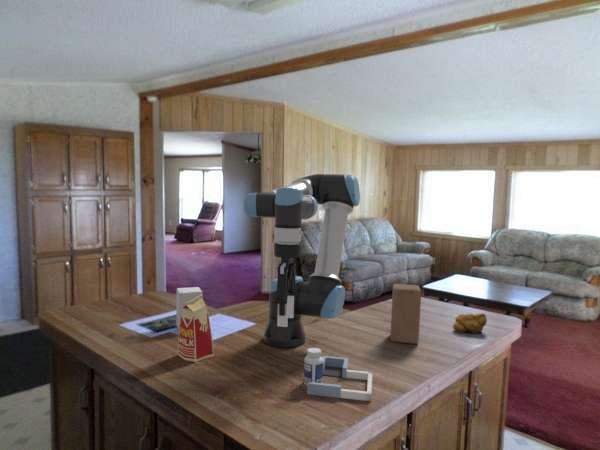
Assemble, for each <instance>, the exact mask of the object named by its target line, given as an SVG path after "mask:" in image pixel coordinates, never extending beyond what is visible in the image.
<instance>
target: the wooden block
mask: <svg viewBox="0 0 600 450" xmlns="http://www.w3.org/2000/svg"><path fill="white" fill-rule="evenodd" d="M391 297H392V298H391V315H390V316H391V319H390V341H391V342H393V343H401V344H402V343H403V344H412V345H417V344H419V341H420V339H419V338H420V322H421V321H420V320H421V301H422V291H421V288H420V286H419V285H417V284H404V283H394V284H393V285H392V295H391Z"/></svg>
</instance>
